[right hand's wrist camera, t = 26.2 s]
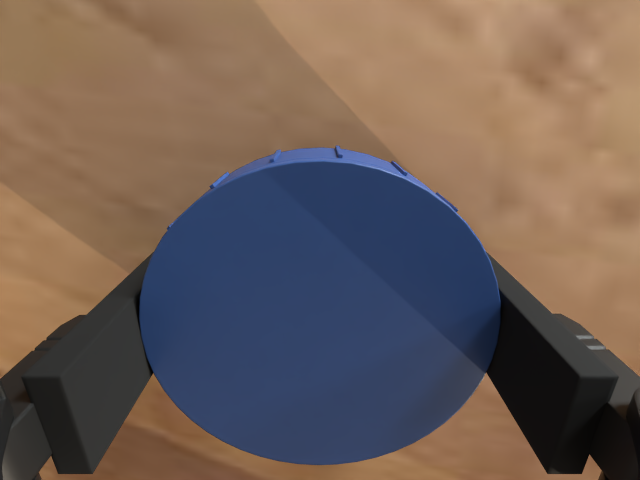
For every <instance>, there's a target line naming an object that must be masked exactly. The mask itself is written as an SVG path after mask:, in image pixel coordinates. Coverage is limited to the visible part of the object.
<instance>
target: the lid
mask: <svg viewBox="0 0 640 480" xmlns="http://www.w3.org/2000/svg"><path fill="white" fill-rule="evenodd" d="M210 188H211V189H210V190H208V191H207V192H206V193H205V194H204V195H203V196H201V197H200V198H199V199H198V200H197V201H196V202H194V203H193V204H192V205H191V206H190V207H189V208H188V209H187V210H186V211H185V212H184V213H183V214H181V215H180V216H179V217H178V218H177V219H176V220H175V221H174V222H173V223H172V224H171V225H169V226H168V228H167V230H168V231H167V232H166V233H165V234H164V236H163V237H162V239H161V241H160V242H159V244H158V246H157V248H156V249H155V251H154V253H153V255H152V256H151V259H150V262H149V264H148V267H147V270H146V272H145V275H144V279H143V284H142V289H141V294H140V305H139V323H140V331H141V339H142V342H143V346H144V349H145V353H146V357H147V359H148V361H149V364H150V366H151V368H152V370H153V373H154V375H155V376H156V378H157V380H158V381H159V383H160V385H161V386H162V388H163V389H164V391H165V392H166V394H167V395H168V396H169V397H170V398H171V400H172V401H173V402H174V403H175V405H176V406H177V407H178V408H179V409H180V410H181V411H182V412H183V413H184V414H185V415H187V416H188V417H189V418H190V419H191V420H192V421H193V422H195V423H196V424H197V425H199V426H200V427H201V428H202V429H204V430H205V431H206V432H208V433H210V434H211V435H213V436H215V437H216V438H218V439H220V440H221V441H223V442H225V443H227V444H229V445H232V446H234V447H236V448H238V449H240V450H243V451H246V452H248V453H251V454H254V455H257V456H260V457H264V458H268V459H272V460H276V461H282V462H288V463H295V464H308V465H332V464H343V463H351V462H358V461H362V460H367V459H371V458H376V457H379V456H382V455H385V454H388V453H391V452H394V451H397V450H399V449H401V448H403V447H406V446H408V445H410V444H412V443H414V442H416V441H418V440H419V439H421V438H423V437H425V436H427V435H428V434H430V433H431V432H433V431H434V430H435V429H437V428H438V427H440V426H441V425H442V424H444V423H445V422H446V421H447V420H449V419H450V418H451V417H452V416H453V415H454V414H455V413H456V412H457V411H458V410H459V409H460V408H461V407H462V406H463V405H464V404H465V403H466V401H467V400H468V399H469V398H470V397H471V396H472V394H473V393H474V391H475V390H476V388H477V387H478V385H479V384H480V382H481V381H482V379H483V378H484V375H485V373H486V371H487V369H488V367H489V365H490V363H491V361H492V358H493V355H494V351H495V348H496V345H497V342H498V335H499V329H500V296H499V290H498V283H497V279H496V276H495V273H494V270H493V267H492V264H491V261H490V259H489V257H488V255H487V253H486V251H485V250H484V248H483V246H482V244H481V242H480V240H479V239H478V238H477V236H476V235H475V234H474V232H473V231H472V229H471V228H470V227H469V225H468V224H467V223H466V222H465V221H464V220H463V219H462V218H461V217H460V216H459V215H458V214H457V213H456V212H457V211H458V209H457V208H456V207H454V206H453V205H452V204H451V203H450V202H448V201H447V200H446V199H445V198H443V197H442V196H441V195H440V194H439V193H436V194H435V193H434V192H433V191H432V190H430V189H429V188H428V187H427V186H426V185H424V184H423V183H422V182H420V181H419V180H418V179H416V178H415V177H414V176H412V175H411V174H409V173H408V172H406V171H405V170H404V169H402V168H401V167H400V166H399V165H398V164H397V163H396V162H394V161H392V162H391V163H389V162H387V161H384V160H382V159H379V158H376V157H373V156H371V155H368V154H364V153H359V152H355V151H350V150H345V149H340V146H336V148H335V149H333V148H305V149H296V150H291V151H285V152H281V150H277V151H276V152H275V154H273V155H270V156H267V157H264V158H261V159H258V160H255V161H253V162H251V163H249V164H247V165H245V166H243V167H241V168H239V169H237V170H235V171H234V172H232V173H231V174H229V173H228V172H227V173H225V174H224V175H223V176H221V177H220V178H219V179H218V180H217V181H215V182H214V183H213V184H212V185H211V186H210Z"/></svg>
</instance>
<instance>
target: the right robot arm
mask: <svg viewBox="0 0 640 480" xmlns="http://www.w3.org/2000/svg"><path fill="white" fill-rule="evenodd" d="M153 253H154V252H153ZM153 253H152V254H151V255H150V256H149V257H148V258H147V259H146V260H145V261H143V262H142V263H141V264H140V265H139V266H138V267H137V268H136V269H135V270H134V271H133V272H132V273H131V274H130V275H129V276H127V277H126V278H125V279H124V280H123V281H122V282H121V283H120V284H119V285H118V286H117V287H116V288H115V289H114V290H113V291H112V292H110V293H109V294H108V295H107V296H106V297H105V298H104V299H103V300H102V301H101V302H100V303H99V304H98V305H97V306H96V307H94V308H93V309H92V310H91V311H90V312H89V313H88V314H87V315H79V316H77V317H75V318H73V319H72V320H70V321H68V322H66V323H64V324H63V325H61V326H60V327H58V328H57V329H56V330H55V331H54V332H53V333H52V334H51V335H49V336H48V337H47V340H44V341H43V342H41V343H40V344H39V345H38V346H37V347H36V348H35V351H31V352H30V353H29V354H28V355H27V356H26V357H25V358H23V359H22V360H21V361H20V362H19V363H18V364H17V365H16V366H14V367H13V368H12V369H11V370H10V371H9V372H8V373H6V374H5V375H4V376H3V377H2V378H1V379H0V480H41V477H40V474H39V471H40V469H41V468H42V467H43V465H44V464H45V463H46V461H47V460H48V459H49V457H50V456H52V459H53V462H54V464H55V467H56V469H57V472H58V474H93V472H94V471H95V469H96V467H97V466H98V464H99V462H100V461H101V459H102V457H103V456H104V454H105V452H106V451H107V449H108V447H109V446H110V444H111V442H112V441H113V439H114V437H115V436H116V434H117V432H118V431H119V429H120V427H121V426H122V424H123V422H124V421H125V419H126V417H127V416H128V414H129V412H130V411H131V409H132V407H133V406H134V404H135V402H136V401H137V399H138V397H139V396H140V394H141V392H142V391H143V389H144V387H145V386H146V384H147V382H148V381H149V379H150V377H151V376H152V374H153V370H152V368H151V366H150V364H149V361H148V359H147V357H146V353H145V349H144V346H143V342H142V339H141V331H140V323H139V305H140V294H141V289H142V284H143V279H144V275H145V272H146V270H147V267H148V264H149V262H150V259H151V256H152V255H153ZM486 253H487V252H486ZM487 255H488V257H489V259H490V261H491V264H492V267H493V270H494V273H495V276H496V279H497V283H498V290H499V296H500V329H499V335H498V342H497V345H496V348H495V351H494V355H493V358H492V361H491V363H490V365H489V367H488V369H487V371H486V372H487V374H488V376H489V377H490V379H491V381H492V382H493V384H494V386H495V387H496V389H497V391H498V392H499V394H500V396H501V397H502V399H503V401H504V402H505V404H506V406H507V407H508V409H509V411H510V412H511V414H512V416H513V417H514V419H515V421H516V422H517V424H518V426H519V427H520V429H521V431H522V432H523V434H524V436H525V437H526V439H527V441H528V442H529V444H530V446H531V447H532V449H533V451H534V452H535V454H536V456H537V457H538V459H539V461H540V462H541V464H542V466H543V467H544V469H545V470H546V472H547V474H582V472H583V469H584V467H585V464H586V462H587V459H588V456H589V454H590V455H591V457H592V458H593V459H594V461H595V462H596V463H597V465H598V466H599V467H600V469H601V470H602V472H601V474H600V477H599V479H598V480H640V377H639V376H638V375H637V374H636V373H635V372H633V371H632V370H631V369H630V368H629V367H628V366H627V365H626V364H624V363H623V362H622V361H621V360H620V359H619V358H618V357H616V356H615V355H614V354H613V353H612V352H611V351H610V350H606V347H605V346H604V345H603V344H602V343H601V342H599V341H598V340H597V339H594V336H593V335H591V334H590V333H589V332H588V331H587V330H586V329H585V328H583V327H582V326H581V325H580V324H578V323H577V322H575V321H573V320H571V319H569V318H567V317H566V316H564V315H562V314H552V313H551V312H550V311H549V310H548V309H547V308H546V307H544V306H543V305H542V304H541V303H540V302H539V301H538V300H537V299H536V298H535V297H534V296H533V295H532V294H531V293H530V292H529V291H527V290H526V289H525V288H524V287H523V286H522V285H521V284H520V283H519V282H518V281H517V280H516V279H515V278H514V277H513V276H511V275H510V274H509V273H508V272H507V271H506V270H505V269H504V268H503V267H502V266H501V265H500V264H499V263H498V262H497V261H495V260H494V259H493V258H492V257H491V256H490V255H489V254H488V253H487Z"/></svg>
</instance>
